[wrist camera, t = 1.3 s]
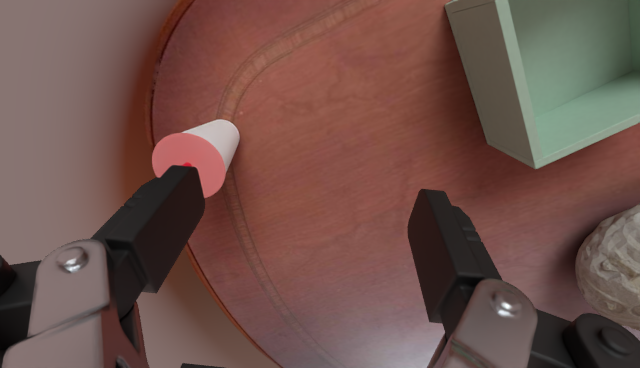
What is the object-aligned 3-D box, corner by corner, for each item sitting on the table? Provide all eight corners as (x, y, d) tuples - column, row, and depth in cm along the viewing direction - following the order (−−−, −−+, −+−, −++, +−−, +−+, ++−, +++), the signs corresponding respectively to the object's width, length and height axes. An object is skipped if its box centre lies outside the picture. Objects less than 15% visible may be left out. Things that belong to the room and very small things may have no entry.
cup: (215, 98, 28) (152, 128, 17) (259, 133, 29) (228, 181, 18) (186, 138, 29) (112, 189, 18) (230, 169, 31) (185, 233, 20)
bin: (443, 5, 25) (491, -12, 18) (621, -101, 22) (753, -166, 16) (487, 144, 30) (535, 169, 24) (633, 73, 28) (734, 79, 21)
